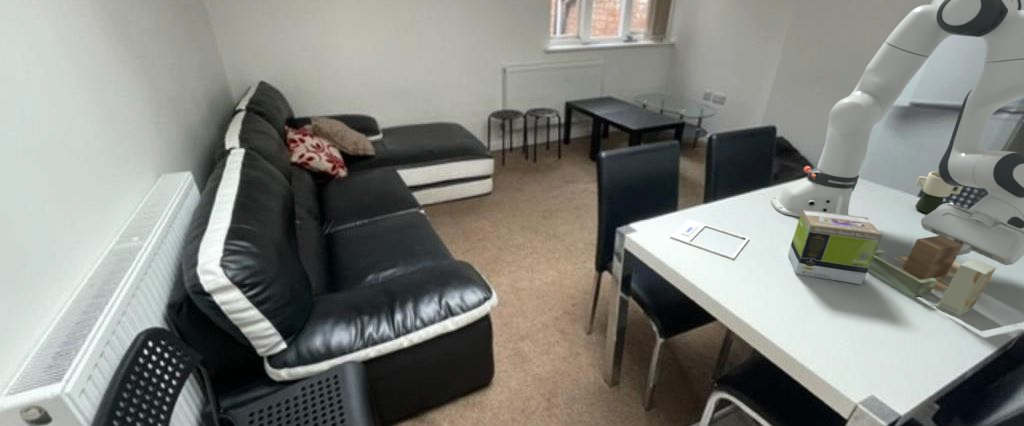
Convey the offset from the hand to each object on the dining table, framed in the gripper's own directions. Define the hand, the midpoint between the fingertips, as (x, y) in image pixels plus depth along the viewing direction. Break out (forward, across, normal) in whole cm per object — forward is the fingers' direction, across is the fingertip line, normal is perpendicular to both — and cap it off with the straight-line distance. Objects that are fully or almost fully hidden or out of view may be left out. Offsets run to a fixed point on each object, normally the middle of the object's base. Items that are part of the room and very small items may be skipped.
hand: (945, 255), depth 113 cm
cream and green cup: (-22, -28, +30) cm, 47 cm away
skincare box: (+13, +12, -5) cm, 19 cm away
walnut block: (+6, 0, 0) cm, 6 cm away
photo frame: (+37, -30, -29) cm, 56 cm away
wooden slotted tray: (+7, 0, +1) cm, 7 cm away
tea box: (+24, -8, -16) cm, 30 cm away
